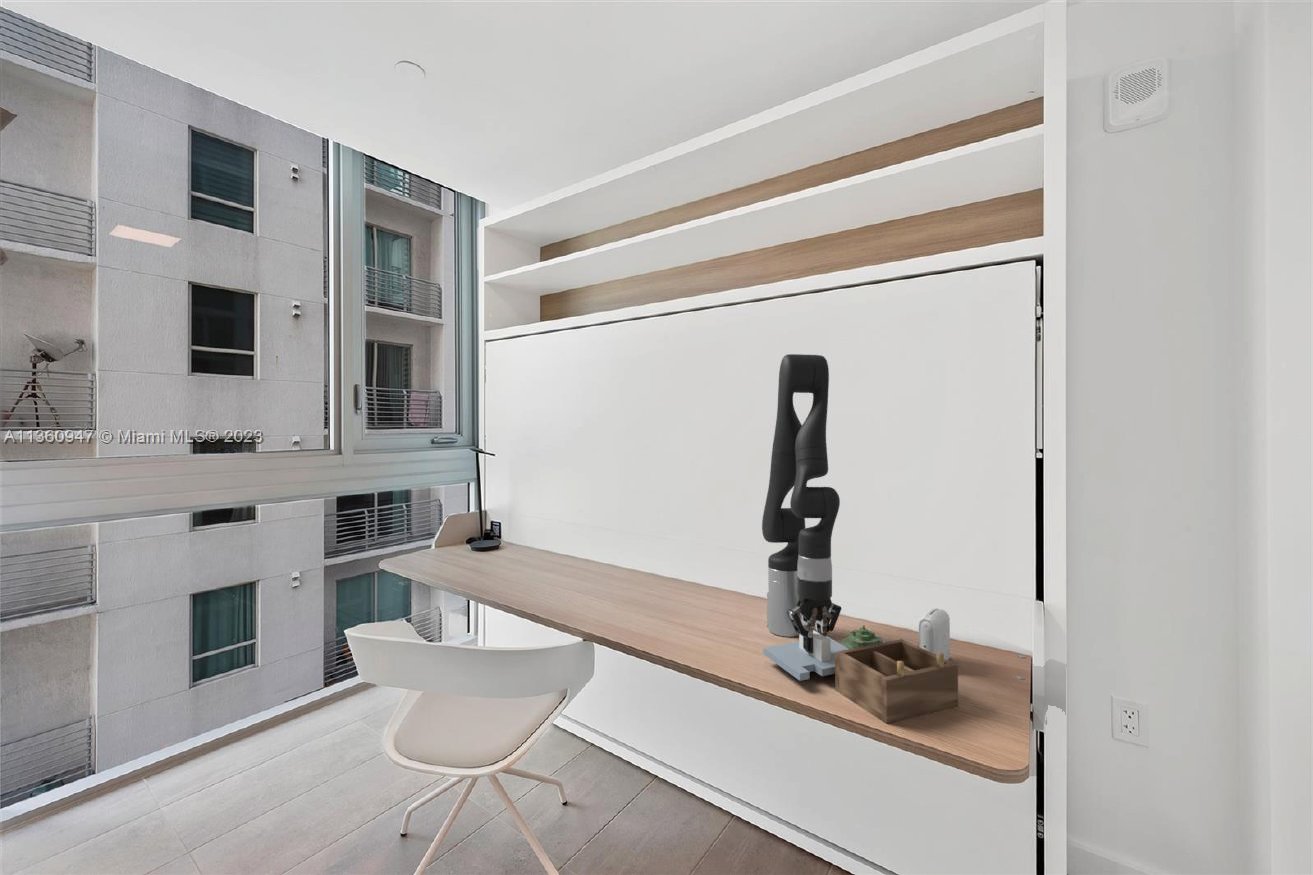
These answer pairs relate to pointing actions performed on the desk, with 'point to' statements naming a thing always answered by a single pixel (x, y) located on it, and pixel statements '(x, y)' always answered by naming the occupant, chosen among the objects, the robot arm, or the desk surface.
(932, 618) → the photo printer
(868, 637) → the decorative artifact
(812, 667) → the notched blue lid
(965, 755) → the desk surface
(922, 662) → the wooden box with compartments
